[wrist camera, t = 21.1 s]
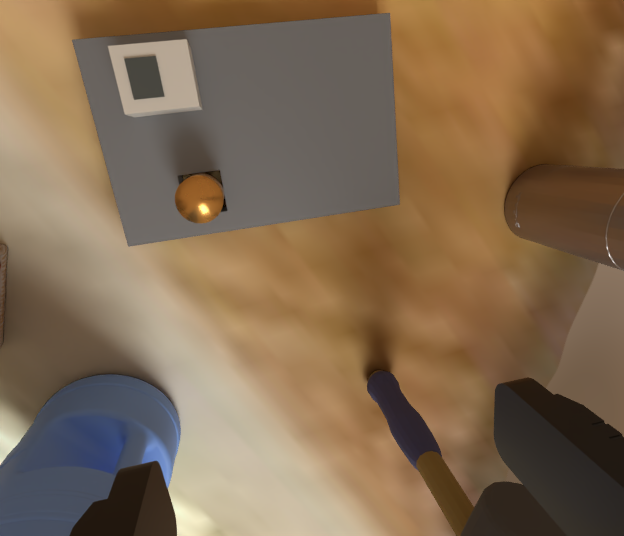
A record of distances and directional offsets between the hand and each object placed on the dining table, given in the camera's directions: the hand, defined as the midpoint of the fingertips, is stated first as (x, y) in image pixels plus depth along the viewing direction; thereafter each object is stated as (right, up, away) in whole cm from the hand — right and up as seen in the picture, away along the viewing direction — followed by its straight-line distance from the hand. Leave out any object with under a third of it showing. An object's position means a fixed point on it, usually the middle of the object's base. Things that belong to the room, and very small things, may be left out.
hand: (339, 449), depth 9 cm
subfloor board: (-6, +18, +32) cm, 37 cm away
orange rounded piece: (-12, +12, +32) cm, 37 cm away
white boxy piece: (-14, +21, +26) cm, 36 cm away
